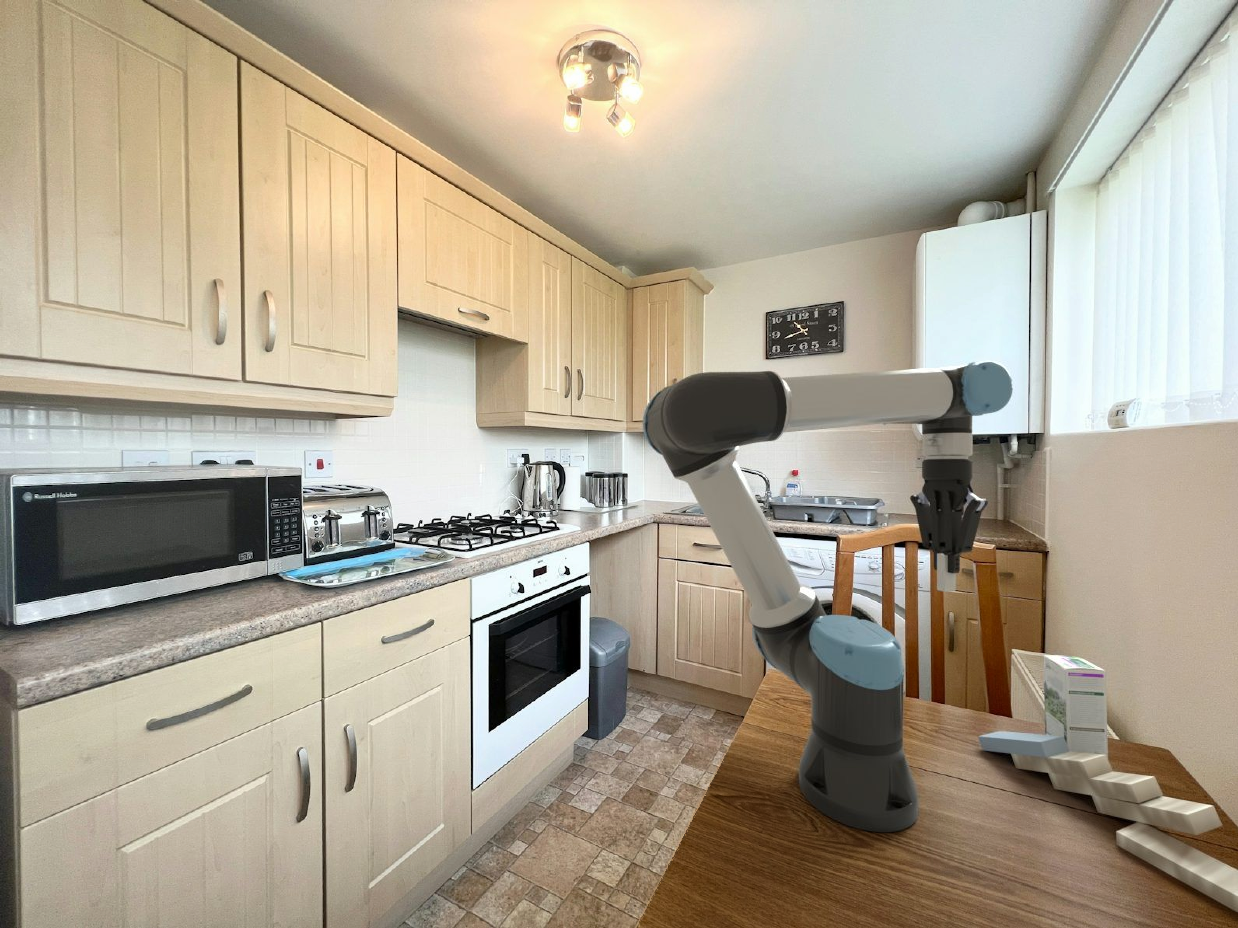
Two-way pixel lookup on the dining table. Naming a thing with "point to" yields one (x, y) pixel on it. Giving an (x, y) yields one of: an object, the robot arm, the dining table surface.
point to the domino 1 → (1024, 743)
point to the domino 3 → (1110, 786)
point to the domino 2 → (1066, 764)
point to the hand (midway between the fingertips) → (946, 590)
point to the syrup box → (1076, 703)
